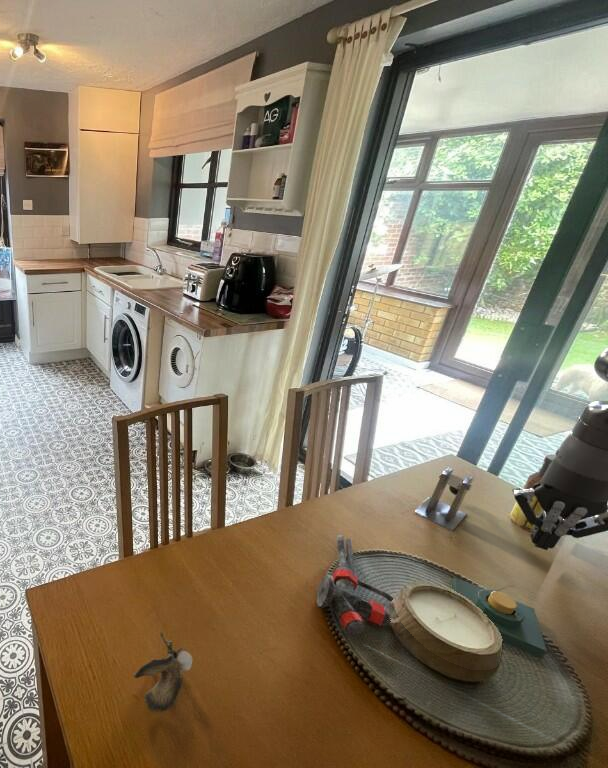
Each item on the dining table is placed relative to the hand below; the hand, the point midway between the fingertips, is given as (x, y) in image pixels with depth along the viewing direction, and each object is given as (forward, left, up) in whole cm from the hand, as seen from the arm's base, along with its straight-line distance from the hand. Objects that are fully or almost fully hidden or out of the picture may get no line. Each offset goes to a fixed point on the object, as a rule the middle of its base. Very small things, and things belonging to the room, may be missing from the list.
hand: (539, 545), depth 72 cm
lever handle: (+7, -30, -11) cm, 33 cm away
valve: (+23, +10, -18) cm, 31 cm away
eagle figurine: (+48, +49, -18) cm, 71 cm away
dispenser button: (+1, +2, -14) cm, 14 cm away
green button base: (+1, +2, -18) cm, 18 cm away
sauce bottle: (-9, -35, -18) cm, 40 cm away
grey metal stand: (+8, -27, -18) cm, 33 cm away
